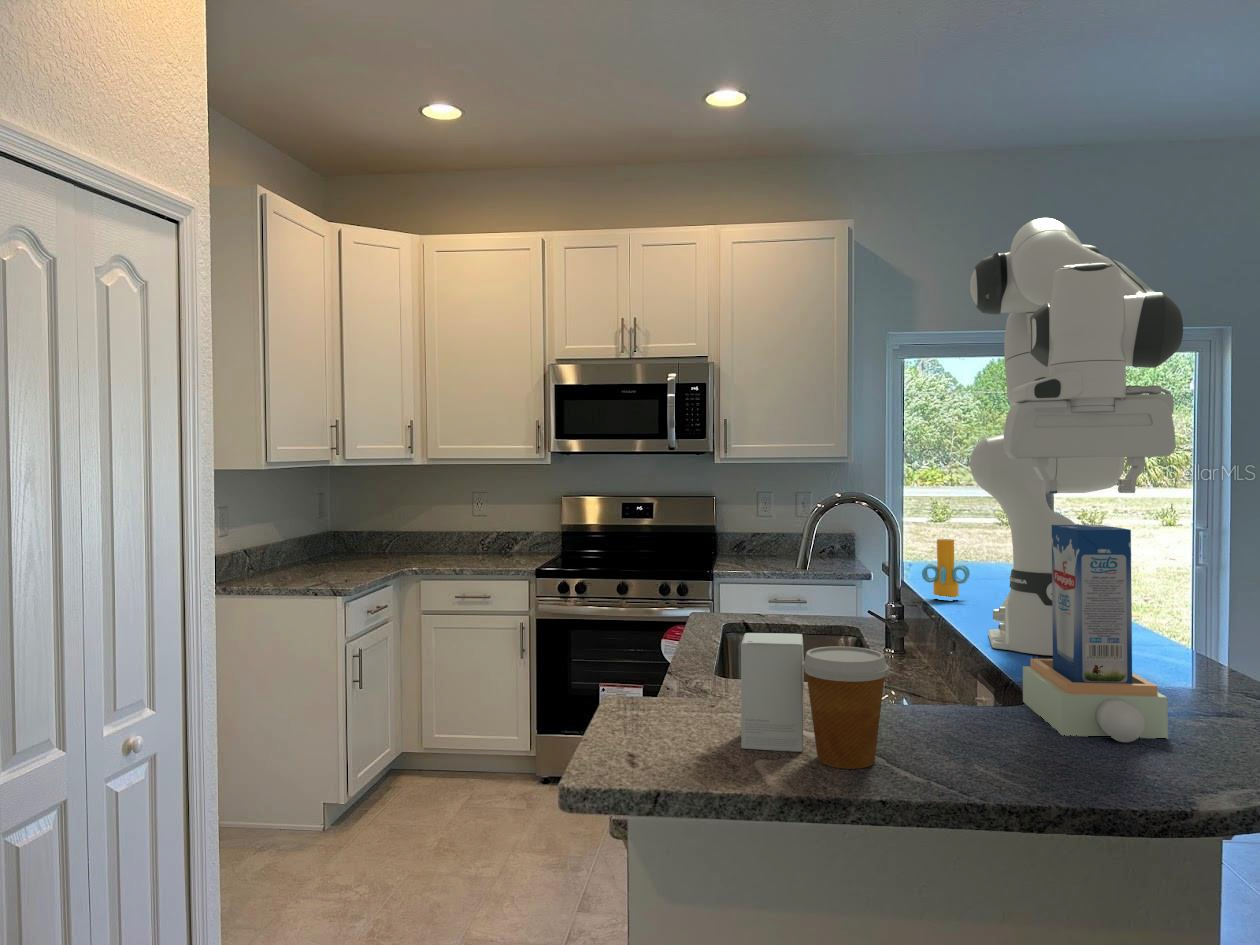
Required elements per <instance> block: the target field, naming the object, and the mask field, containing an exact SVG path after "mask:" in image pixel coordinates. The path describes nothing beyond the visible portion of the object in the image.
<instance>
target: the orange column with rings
mask: <svg viewBox="0 0 1260 945" xmlns="http://www.w3.org/2000/svg"><path fill="white" fill-rule="evenodd" d="M930 569H932V570H933V571H934V577H931V576H929V573H928V570H930ZM959 570H961V571H962V572H963V574H964V577H963V578H959V577H958V576H957V571H959ZM970 574H971V573H970V569H969V567H967V566H966V565H964V564H958V565H957V566H955V540H954V539H950V538H939V539H936V564H934V563H928V564H926V566H924V567H923V569H922V572H921V577H922V579H923V580H924V582H927V583H932V587H933V589H932V592H933V593H932V594H935V595H939V596H946V597H947V596H948V597H956V596H959V597H960V592H959V591H960V590H959V589H960V585H961V584H962V585H963V584H965V583H966V582H967V581H968V579H969V577H970ZM959 584H960V585H959Z"/></svg>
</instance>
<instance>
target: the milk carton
mask: <svg viewBox="0 0 1260 945" xmlns="http://www.w3.org/2000/svg"><path fill="white" fill-rule="evenodd" d="M1051 526H1052V623H1053V656H1052V659H1053V670H1055V671H1056V672H1058V673H1059V674H1061V675H1062V676H1064V677H1065V678H1067V679H1068V680H1070V681H1071V682H1076V683H1122V684H1132V673H1133V630H1132V629H1133V626H1132V625H1133V623H1132V622H1133V619H1132V616H1133V615H1132V614H1133V612H1132V611H1133V609H1132V529H1128V528H1123V527H1117V526H1116V527H1115V526H1109V525H1103V524H1076V525H1051Z"/></svg>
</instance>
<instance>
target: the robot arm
mask: <svg viewBox="0 0 1260 945" xmlns="http://www.w3.org/2000/svg"><path fill="white" fill-rule="evenodd" d="M969 287H970V288H969V292H970V295H971V297H972V299H971V300H973V302H974V305H975V306H976V309H977V310H979V311H980V312H981V313H982V314H985V315H987V314H988V315H997V316H998V315H1000V314H1002V313H1003V314H1008V316H1007V319H1006V325H1005V330H1004V331H1005V332H1004V333H1005V334H1004V347H1003V348H1004V349H1003V350H1004V352H1003V353H1004V354H1003V355H1004V370H1005V372H1004V373H1005V383H1006V396H1007V400H1008V403H1009V404H1010V406H1011V407H1010V408H1009V410H1008V412H1007V414H1006V417H1005V422H1004V423H1005V424H1004V430H1003V433H1002V434H1001V433H1000V434H996V435H991V436H987V437H984V438H982V439H980V440H979V441H978V442H977V443H976V445H975V446H974V448H973V450H972V452H971V456H970V462H969V466H970V467H969V468H970V472H971V475H972V478H973V480H974V482H976V484H977V485H978V486H979V487H980V488H981V489H982V490H983V491H985V492H987V494H988V495H990V496H992V497H993V499H995V501H997V503H998V504H999V506H1000V507H1001V508H1002V510H1003V512H1004V513H1005V516H1006V518H1007V520H1008V524H1009V527H1010V533H1011V541H1012V542H1011V543H1012V556H1013V557H1012V558H1013V559H1012V560H1013V561H1012V562H1013V565H1012V566H1013V568H1011V570H1010V576H1009V586H1008V587H1009V588H1010V590H1009V592H1008V594H1007V596H1006V598H1005V599H1004V601H1003V603H1002V604H1001V606H999V607H998V608H994V609H992V621H994V622H998V628H993V629H988V634H989V635H988V638H989V642H990V645H991V647H992V648H993V649H997V650H1004V651H1005V650H1008V651H1013V652H1018V653H1023V654H1025V653H1026V654H1031V655H1040V656H1052V657H1053V623H1052V526H1051V525H1077V524H1076V523H1075V522H1074V521H1073V520H1071V519H1070V518H1068V517H1066V516H1065V515H1062V514H1060V513H1059V512H1057V511H1053V510H1052V509H1051V508H1050V506H1049V504H1048V502H1047V496H1046V494H1047V495H1048V494H1049V495H1051V494H1086V493H1093V492H1097V491H1102V490H1106V489H1111V488H1113V487H1114V486H1115V485H1116V484H1118V487H1117V491H1118V494H1135V493H1136V480H1137V479H1138V477H1139V476H1140V474H1141V473H1142V471H1143V470H1144V468H1145V466H1146V458H1163V457H1165V458H1166V457H1170V456H1171V455H1172V454H1173V453H1174V452H1175V450H1176V449H1177V448H1176V447H1177V442H1176V432H1175V425H1174V420H1173V414H1174V410H1175V404H1174V400H1175V399H1174V396H1173V394H1172V393H1171V392H1170V391H1169V390H1167V389H1166V388H1162V386H1161V385H1156V384H1155V385H1148V386H1144V385H1143V386H1141V385H1127V367H1132V368H1147V369H1149V368H1151V369H1153V368H1154V369H1156V368H1157V367H1159V366H1161V365H1162V364H1163V363H1165V362H1166V361H1168V360H1169V359H1170V358H1171V357H1172V356H1173V355H1175V353H1176V352H1178V350H1179V348H1180V347H1181V345H1182V341H1183V336H1184V323H1183V322H1184V321H1183V316H1182V312H1181V309H1180V308H1179V306H1178V305H1177V304H1176V302H1175V301H1174V300H1172V299H1171V298H1170V297H1169V296H1168V295H1166V294H1165V293H1164V292H1162V291H1160V292H1156V291H1155V290H1153V289H1152V288H1151V287H1150V286H1149V285H1148V284H1146V283H1145V282H1144V281H1143V280H1142V279H1141V278H1140V277H1138V276H1137V275H1136V273H1134V272H1133V271H1132V269H1129V268H1128V267H1127V266H1126V265H1125V264H1124V263H1122V262H1120V261H1117V260H1116V259H1113V258H1111V257H1107V256H1105V255H1103V254H1102V252H1101V250H1100V249H1098V247H1097V246H1095V245H1091V244H1083V243H1082V242H1081V241H1080V239H1079V238H1078V236H1077V234H1075V232H1074V231H1073V230H1072V229H1071V228H1070V227H1068V226H1067V225H1066V224H1065V223H1063V222H1061V221H1059V220H1056V219H1055V218H1050V217H1041V218H1037V219H1033V220H1030V221H1029V222H1027V223H1025V224H1024V225H1022V226H1021V227H1020V228H1019V229H1018V231H1017V232H1016V234H1015V235H1014V237H1013V240H1012V242H1011V245H1010V251H1008V252H1001V253H999V251H996V252H994V253H993V255H989V256H987V257H985V258H983V259H981V260H980V261H979V262H978V263H977V264H976V265H975V266H974V270H973V272H972V274H971V278H970V282H969ZM1125 458H1126V466H1127V467H1130V468H1129V470H1128V471H1127V474H1126V475H1125V476H1124V478H1122V479H1121V477H1122V475H1123V472H1124V470H1125V469H1124V468H1125Z"/></svg>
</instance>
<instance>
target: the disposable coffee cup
mask: <svg viewBox="0 0 1260 945" xmlns="http://www.w3.org/2000/svg"><path fill="white" fill-rule="evenodd" d="M802 666H803V667H804V672H805V673H804V674H806V680H807V687H808V694H809V704H810V709H811V710H810V711H811V720H812V727H813V732H814V742H815V749H816V756H817V758H816V759H817V761H819V762H820V763H821V764H824V765H826V766H829V767H832V768H833V767H834V768H839V769H850V770H851V769H853V770H855V769H864V768H868V767H871V766H873V765H874V764H875V762H876V751H877V750H876V749H877V742H878V735H879V728H880V727H879V726H880V725H879V724H880V720H881V719H880V718H881V711H882V708H881V707H882V701H883V692H884V683H885V677H886V676H887V672H888V671H889V669H890V666H889V664H887V662H886V657H885V654H884V653H883V652H881V651H877V650H875V649H871V648H865V647H856V646H837V645H836V646H822V647H821V646H820V647H814V648H811V649H808V650H807V651H806V652H805V657H804V661H803V663H802Z"/></svg>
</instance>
